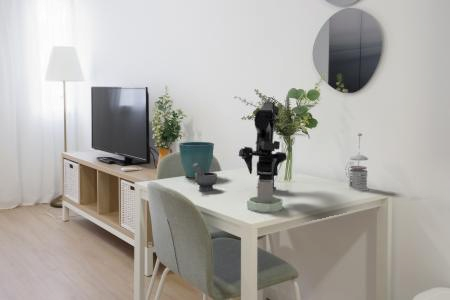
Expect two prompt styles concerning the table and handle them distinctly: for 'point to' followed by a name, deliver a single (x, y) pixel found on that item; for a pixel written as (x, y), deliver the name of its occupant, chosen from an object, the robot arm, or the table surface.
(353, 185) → the french press
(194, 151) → the flower pot
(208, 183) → the mortar and pestle
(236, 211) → the table surface
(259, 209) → the dish
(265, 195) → the tumbler
